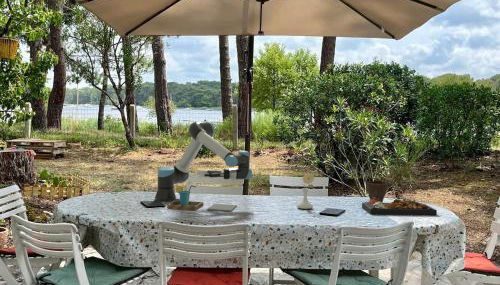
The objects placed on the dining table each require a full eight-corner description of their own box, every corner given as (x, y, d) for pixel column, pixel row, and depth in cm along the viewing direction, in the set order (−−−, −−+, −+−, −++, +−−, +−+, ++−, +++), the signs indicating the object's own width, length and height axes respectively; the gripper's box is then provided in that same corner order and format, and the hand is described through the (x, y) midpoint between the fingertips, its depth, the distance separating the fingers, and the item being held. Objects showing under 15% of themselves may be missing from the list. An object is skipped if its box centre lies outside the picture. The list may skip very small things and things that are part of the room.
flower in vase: (293, 208, 431) (294, 172, 429) (303, 206, 440) (304, 171, 438) (308, 211, 422) (309, 174, 421) (318, 209, 431) (319, 173, 429)
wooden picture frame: (167, 208, 419) (167, 204, 419) (175, 203, 437) (175, 200, 436) (196, 210, 415) (196, 206, 415) (203, 205, 433) (203, 202, 433)
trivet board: (207, 210, 416) (207, 208, 416) (214, 205, 435) (214, 203, 435) (230, 211, 413) (230, 210, 413) (236, 206, 432) (236, 205, 432)
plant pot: (378, 206, 448) (379, 184, 446) (361, 203, 459) (362, 181, 458) (390, 204, 457) (391, 182, 456) (374, 201, 469) (375, 180, 467)
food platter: (370, 215, 416) (371, 200, 415) (361, 208, 440) (362, 194, 440) (436, 216, 419) (437, 201, 418) (424, 209, 443) (425, 195, 442)
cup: (196, 206, 430) (196, 184, 429) (195, 208, 422) (195, 186, 421) (176, 205, 430) (176, 184, 429) (174, 207, 422) (175, 185, 421)
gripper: (231, 181, 418) (199, 181, 414) (227, 176, 442) (197, 176, 439) (231, 170, 417) (200, 170, 414) (227, 166, 442) (197, 166, 438)
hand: (198, 173), depth 426 cm, fingers open, 13 cm apart
